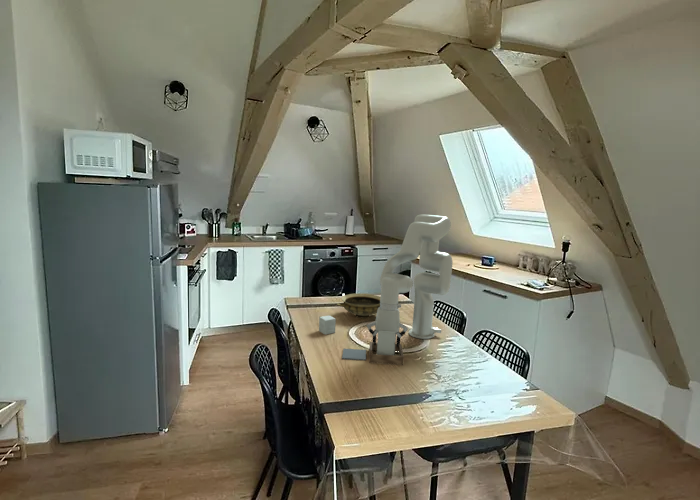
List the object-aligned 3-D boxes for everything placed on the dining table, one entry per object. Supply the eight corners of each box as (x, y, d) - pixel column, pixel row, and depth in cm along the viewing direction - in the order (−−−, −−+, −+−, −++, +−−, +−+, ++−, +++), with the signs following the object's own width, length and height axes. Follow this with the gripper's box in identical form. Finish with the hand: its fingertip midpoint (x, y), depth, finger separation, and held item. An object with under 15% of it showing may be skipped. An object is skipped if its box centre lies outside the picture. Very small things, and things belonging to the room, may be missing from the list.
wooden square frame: (400, 351, 187) (401, 344, 186) (403, 365, 173) (403, 357, 173) (369, 349, 188) (369, 342, 187) (369, 362, 174) (369, 354, 173)
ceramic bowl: (380, 308, 250) (381, 292, 248) (395, 321, 227) (396, 303, 225) (331, 310, 241) (331, 293, 239) (342, 324, 218) (342, 306, 217)
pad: (366, 351, 186) (366, 349, 186) (365, 360, 176) (365, 359, 176) (343, 349, 186) (343, 348, 186) (342, 359, 176) (342, 357, 176)
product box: (329, 329, 211) (329, 315, 210) (335, 332, 206) (336, 318, 205) (318, 330, 208) (319, 316, 207) (324, 334, 203) (325, 320, 202)
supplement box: (393, 361, 176) (395, 333, 174) (375, 359, 178) (377, 330, 175) (395, 354, 183) (396, 327, 181) (378, 352, 185) (379, 325, 183)
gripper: (408, 305, 180) (405, 343, 183) (368, 302, 181) (365, 340, 183) (410, 310, 173) (407, 349, 175) (368, 307, 173) (365, 346, 176)
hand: (386, 344), depth 179 cm, fingers open, 9 cm apart
